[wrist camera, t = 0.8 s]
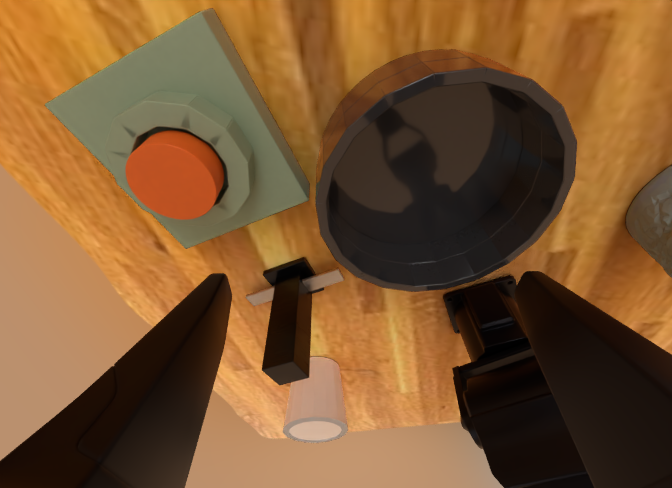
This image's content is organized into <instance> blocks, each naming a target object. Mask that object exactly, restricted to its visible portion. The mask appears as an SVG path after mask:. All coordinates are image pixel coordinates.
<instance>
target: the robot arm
mask: <svg viewBox="0 0 672 488" xmlns="http://www.w3.org/2000/svg"><path fill="white" fill-rule="evenodd" d="M443 298H444V302H445V305H446V308H447V311H448V314H449V317H450V320H451V323H452V326H453V329H454V332H455V333H461V336H462V339H463V341H464V344H465V346H466V349H467V351H468V354H469V357H470V359H471V363H468V364H465V365H462V366H460V367H459V366H456V367H454V368H452V369H453V374H454V377H453V380H454V385H455V390H456V395H457V400H458V405H459V409H460V415H461V424H462V427H463V428H464V429H465V430H467V431H469V433H470V434H471V436H472V438H473V440H474V441H475V443H476V444H477V445H478V447H479V448H481V449H483V450H484V452H485V454H486V457H487V460H488V463H489V466H490V469H491V472H492V474H493V475H494V477H495V478H496V479H497V480H498V481H499V483H500V484H501V485H502V486H503V487H504V488H672V355H671V354H670V353H668V352H666V351H665V350H663V349H662V348H660V347H659V346H657V345H655V344H654V343H652V342H651V341H649V340H648V339H646V338H644V337H643V336H641V335H640V334H638V333H637V332H635V331H633V330H632V329H630V328H629V327H627V326H626V325H624V324H622V323H621V322H619V321H618V320H616V319H614V318H613V317H611V316H610V315H608V314H607V313H605V312H603V311H602V310H600V309H599V308H597V307H596V306H594V305H592V304H591V303H589V302H588V301H586V300H585V299H583V298H581V297H580V296H578V295H577V294H575V293H574V292H572V291H570V290H569V289H567V288H566V287H564V286H563V285H561V284H559V283H558V282H556V281H555V280H553V279H551V278H550V277H548V276H547V275H545V274H544V273H542V272H539V271H527V272H525V273H524V274H523V275H522V277H521V279H520V281H519V283H518V285H517V286H516V280H515V278H514V277H513V276H506V277H502V278H499V279H496V280H492V281H489V282H485V283H482V284H478V285H475V286H471V287H468V288H464V289H461V290H457V291H454V292H450V293H447V294H445V295H444V296H443ZM231 301H232V293H231V289H230V285H229V282H228V278H227V276H226V274H223V273H219V274H211V275H209V276H208V277H207V278H206V279H205V280H204V281H203V282H202V283H201V284H200V285H198V286H197V287H196V288H195V289H194V290H193V291H192V292H191V293H190V294H189V295H188V296H187V297H186V298H185V299H183V300H182V301H181V302H180V303H179V304H178V305H177V306H176V307H175V308H174V309H173V310H172V311H171V312H170V313H169V314H167V315H166V316H165V317H164V318H163V319H162V320H161V321H160V322H159V323H158V324H157V325H156V326H155V327H154V328H152V329H151V330H150V331H149V332H148V333H147V334H146V335H145V336H144V337H143V338H142V339H141V340H140V341H139V342H138V343H136V344H135V345H134V346H133V347H132V348H131V349H130V350H129V351H128V352H127V353H126V354H125V355H124V356H122V358H120V359H119V360H118V361H117V362H116V363H115V364H114V366H112V367H111V368H110V369H108V371H106V372H105V373H104V374H103V375H102V376H101V377H100V378H99V379H98V380H97V381H95V382H94V383H93V384H92V385H91V386H90V387H89V388H88V389H87V390H85V391H84V392H83V393H82V394H81V395H80V396H79V397H78V398H76V399H75V400H74V401H73V402H72V403H70V404H69V405H68V406H67V407H66V408H64V409H63V410H62V411H61V412H60V413H59V414H57V415H56V416H55V417H54V418H52V419H51V420H50V421H49V422H48V423H46V424H45V425H44V426H43V427H42V428H40V429H39V430H38V431H36V432H35V433H34V434H33V435H31V436H30V437H29V438H28V439H27V440H25V441H24V442H23V443H22V444H20V445H19V446H18V447H17V448H16V449H14V450H13V451H12V452H10V454H8V455H7V456H6V457H4V458H3V459H2V460H1V461H0V488H185V485H186V481H187V477H188V474H189V470H190V467H191V463H192V460H193V456H194V453H195V449H196V446H197V442H198V439H199V435H200V431H201V428H202V424H203V420H204V417H205V413H206V410H207V407H208V403H209V399H210V395H211V392H212V389H213V385H214V382H215V378H216V375H217V371H218V367H219V364H220V360H221V357H222V353H223V349H224V345H225V339H226V333H227V326H228V320H229V313H230V307H231Z"/></svg>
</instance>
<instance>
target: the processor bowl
mask: <svg viewBox="0 0 672 488" xmlns="http://www.w3.org/2000/svg"><path fill="white" fill-rule="evenodd" d="M576 151H577V140H576V137H575V135H574V132H573V130H572V127H571V124H570V122H569V119H568V117H567V114H566V112H565V109H564V107H563V106H562V104H561V103H559V102H558V101H557V100H556V99H555V98H554V97H552V96H551V95H550V94H549V93H548V92H547V91H545V90H544V89H543V88H542V87H541V86H540V85H539V84H537V83H536V82H535V81H534V80H532V79H530V78H528V77H526V76H524V75H522V74H520V73H518V72H516V71H514V70H512V69H510V68H508V67H506V66H504V65H502V64H499V63H497V62H495V61H493V60H491V59H488V58H485V57H481V56H477V55H475V54H472V53H468V52H463V51H459V50H455V49H454V50H453V49H450V50H444V49H439V50H429V51H422V52H418V53H414V54H409V55H406V56H403V57H401V58H398V59H396V60H393V61H391V62H389V63H387V64H385V65H384V66H382V67H380V68H378V69H376V70H375V71H373V72H372V73H371V74H369V75H368V76H367V77H365V78H364V79H363V80H361V81H360V82H359V83H358V84H357V85H356V86H355V87H354V88H353V89H352V90H351V91H350V92H349V93H348V94H347V95H346V96H345V98H344V99H343V100H342V101H341V103H340V104H339V105H338V107H337V108H336V110H335V112H334V113H333V115H332V116H331V118H330V120H329V122H328V125H327V127H326V129H325V131H324V133H323V136H322V141H321V144H320V150H319V156H318V161H317V168H316V210H317V216H318V223H319V229H320V234H321V236H322V238H323V240H324V241H325V243H326V245H327V246H328V248H329V250H330V251H331V253H332V255H333V256H334V258H335V259H336V260H337V261H338V262H339V263H340V264H341V265H343V266H344V267H345V268H346V269H348V270H349V271H350V272H351V273H352V274H354V275H355V276H356V277H358V278H360V279H363V280H365V281H368V282H370V283H373V284H375V285H378V286H380V287H383V288H388V289H396V290H403V291H411V292H413V291H414V292H418V291H429V290H441V289H447V288H451V287H454V286H457V285H461V284H464V283H468V282H471V281H475V280H477V279H480V278H482V277H483V276H485V275H487V274H489V273H491V272H493V271H495V270H497V269H499V268H501V267H503V266H505V265H507V264H508V263H510V262H511V261H512V260H514V259H515V258H516V257H517V256H519V255H520V254H521V253H522V252H524V251H525V250H526V249H527V248H529V247H530V246H531V245H532V244H534V243H535V242H536V241H537V240H538V239H539V238H540V236H541V235H542V234H543V233H544V231H545V230H546V229H547V228H548V226H549V225H550V224H551V223H552V221H553V220H554V219H555V218H556V216H557V215H558V214H559V212H560V211H561V209H562V206H563V204H564V202H565V199H566V197H567V195H568V192H569V190H570V188H571V185H572V183H573V181H574V178H575V166H576Z"/></svg>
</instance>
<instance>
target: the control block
mask: <svg viewBox="0 0 672 488" xmlns="http://www.w3.org/2000/svg"><path fill="white" fill-rule="evenodd" d="M45 106H46V107H47V108H48V109H49V110H50V111H51V112H52V113H53V114H54V115H55V116H56V117H57V118H58V119H59V120H60V121H61V122H62V123H63V124H64V126H65V127H66V128H67V129H68V130H69V131H70V132H71V133H72V134H73V135H74V136H75V137H76V138H77V139H78V140H79V141H80V142H81V143H82V144H83V145H84V146H85V147H86V148H87V149H88V150H89V151H90V152H91V153H92V154H93V155H94V156H95V157H96V158H97V159H98V160H99V161H100V162H101V163H102V164H103V165H104V166H105V167H106V168H107V169H108V170H109V171H110V172H111V173H112V174H113V175H114V177H115V180H116V182H117V184H118V185H119V186H120V187H121V188H122V189H123V190H124V191H125V192H126V193H127V194H128V195H129V196H130V197H131V198H132V199H133V200H134V201H135V202H136V203H137V204H138V205H139V206H140V207H141V208H142V209H143V210H145V211H147V212H149V213H151V214H152V215H153V216H154V217H155V218H156V219H157V220H158V221H159V222H160V223H161V224H162V225H163V226H164V227H165V228H166V229H167V230H168V231H169V232H170V233H171V234H172V235H173V236H174V237H175V238H176V239H177V240H178V241H179V242H180V243H181V244H182V245H183V246H184V248H186V249H187V248H190V247H192V246H195V245H197V244H200V243H202V242H205V241H207V240H210V239H213V238H215V237H218V236H220V235H223V234H225V233H228V232H230V231H233V230H235V229H238V228H240V227H243V226H245V225H248V224H251V223H253V222H256V221H258V220H261V219H263V218H266V217H268V216H271V215H273V214H276V213H278V212H281V211H283V210H286V209H289V208H291V207H294V206H296V205H299V204H301V203H304V202H306V201H308V200H309V187H310V184H309V182H308V180H307V178H306V176H305V175H304V173H303V171H302V169H301V167H300V165H299V164H298V162H297V160H296V158H295V156H294V155H293V153H292V151H291V149H290V147H289V145H288V144H287V142H286V140H285V138H284V136H283V135H282V133H281V131H280V129H279V127H278V125H277V124H276V122H275V120H274V118H273V116H272V115H271V113H270V111H269V109H268V107H267V105H266V104H265V102H264V100H263V98H262V96H261V95H260V93H259V91H258V89H257V87H256V85H255V84H254V82H253V80H252V78H251V76H250V74H249V73H248V71H247V69H246V67H245V65H244V64H243V62H242V60H241V58H240V56H239V54H238V53H237V51H236V49H235V47H234V45H233V44H232V42H231V40H230V38H229V36H228V34H227V33H226V31H225V29H224V27H223V25H222V24H221V22H220V20H219V18H218V16H217V14H216V13H215V11H214V9H213V8H211V9H207V10H204V11H200V12H198V13H196V14H195V15H193V16H191V17H190V18H188V19H186V20H185V21H183V22H181V23H180V24H178V25H176V26H175V27H173V28H171V29H170V30H168V31H166V32H165V33H163V34H161V35H159V36H158V37H156V38H154V39H153V40H151V41H149V42H148V43H146V44H144V45H143V46H141V47H139V48H138V49H136V50H134V51H133V52H131V53H129V54H128V55H126V56H124V57H123V58H121V59H119V60H118V61H116V62H114V63H113V64H111V65H109V66H108V67H106V68H104V69H103V70H101V71H99V72H98V73H96V74H94V75H93V76H91V77H89V78H88V79H86V80H84V81H83V82H81V83H79V84H78V85H76V86H74V87H73V88H71V89H69V90H68V91H66V92H64V93H63V94H61V95H59V96H58V97H56V98H54V99H53V100H51V101H49V102H48V103H46V104H45ZM166 130H176V131H182V132H185V133H188V134H191V135H193V136H195V137H197V138H199V139H200V140H202V141H203V142H205V143H206V144H207V145H208V146H209V147H210V148H211V149H212V150H213V151H214V152H215V153H216V155H217V156H218V158H219V160H220V162H221V164H222V167H223V171H224V183H223V186H222V188H221V191H220V193H219V195H218V197H217V199H216V201H215V203H214V205H213V207H212V208H211V209H210V210H209V211H208V212H207V213H206V214H204V215H202V216H200V217H198V218H194V219H187V220H180V219H173V218H169V217H166V216H163V215H161V214H158V213H156V212H155V211H153V210H151V209H150V208H148V207H147V206H145V205H144V204H143V203H142V202H141V201H140V200H139V199H138V198H137V197H136V196H135V194H134V193H133V192H132V190H131V188H130V187H129V184H128V182H127V178H126V172H125V170H126V163H127V160H128V158H129V156H130V155H131V153H132V152H133V151H135V150H136V149H137V148H138V147H139V146H140V145H141V144H142V143H143V142H144V141H145V140H146V139H148V138H149V137H150V136H151V135H153V134H155V133H157V132H161V131H166Z"/></svg>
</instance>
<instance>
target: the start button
mask: <svg viewBox="0 0 672 488" xmlns="http://www.w3.org/2000/svg"><path fill="white" fill-rule="evenodd" d="M125 172H126V178H127V182H128V184H129V187H130V188H131V190H132V192H133V193H134V194H135V196H136V197H137V198H138V199H139V200H140V201H141V202H142V203H143V204H144V205H145V206H147V207H148V208H150V209H151V210H153V211H155V212H156V213H158V214H161V215H163V216H166V217H169V218H173V219H180V220H187V219H194V218H198V217H200V216H202V215H204V214H206V213H207V212H208V211H209V210H210V209H211V208H212V207H213V205H214V203H215V201H216V199H217V197H218V195H219V193H220V191H221V188H222V186H223V183H224V171H223V167H222V164H221V162H220V160H219V158H218V156H217V155H216V153H215V152H214V151H213V150H212V149H211V148H210V147H209V146H208V145H207V144H206V143H205V142H203V141H202V140H200V139H199V138H197V137H195V136H193V135H191V134H188V133H185V132H182V131H176V130H166V131H161V132H157V133H155V134H153V135H151V136H150V137H149V138H148V139H146V140H145V141H144V142H143V143H142V144H141V145H140V146H139V147H138V148H137V149H136V150H135V151H133V152H132V153H131V155H130V156H129V158H128V160H127V163H126V170H125Z"/></svg>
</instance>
